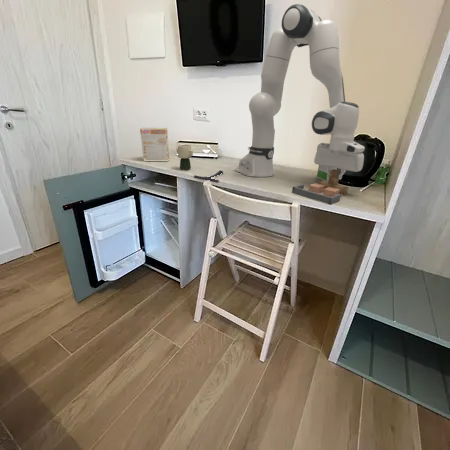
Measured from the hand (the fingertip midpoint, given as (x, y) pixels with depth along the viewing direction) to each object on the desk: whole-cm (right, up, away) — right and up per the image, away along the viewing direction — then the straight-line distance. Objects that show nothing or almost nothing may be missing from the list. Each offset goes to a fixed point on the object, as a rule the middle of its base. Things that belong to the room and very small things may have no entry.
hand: (334, 177), depth 113 cm
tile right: (-3, -8, -4) cm, 10 cm away
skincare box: (+4, +2, +19) cm, 20 cm away
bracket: (-53, +3, +19) cm, 57 cm away
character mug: (-70, +10, +32) cm, 78 cm away
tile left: (-8, -6, +1) cm, 10 cm away
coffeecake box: (-91, +20, +51) cm, 106 cm away
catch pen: (-10, -9, -6) cm, 15 cm away
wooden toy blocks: (0, -5, +2) cm, 6 cm away
